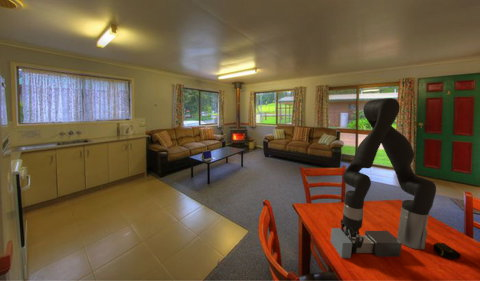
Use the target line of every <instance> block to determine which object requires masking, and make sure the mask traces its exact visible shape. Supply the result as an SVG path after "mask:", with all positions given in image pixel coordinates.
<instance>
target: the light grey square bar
mask: <svg viewBox="0 0 480 281" xmlns="http://www.w3.org/2000/svg"><path fill="white" fill-rule="evenodd" d="M359 235H360V234H359ZM346 236H347V237H348V239H349V235H346ZM360 237H363V238H364V241H363V244H362V246H361V248H357V251H356V253H355V254H374V251H375V242H374V241H373V240H372V239H371V238H370V237H369V236H368V235H365V234H364V235H362V234H361V235H360ZM352 238H356V237H352ZM349 240H350V239H349ZM350 241H351V240H350ZM353 243H355V241H353Z"/></svg>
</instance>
